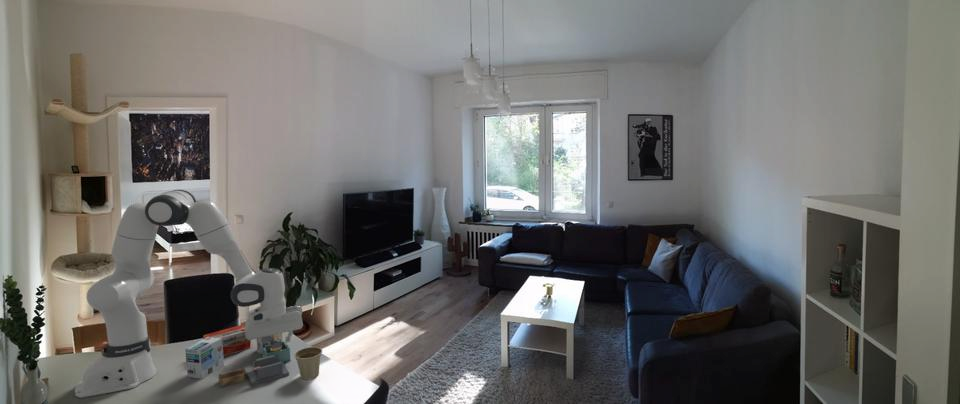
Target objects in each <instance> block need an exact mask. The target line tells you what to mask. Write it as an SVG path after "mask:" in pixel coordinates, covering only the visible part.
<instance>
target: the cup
mask: <svg viewBox="0 0 960 404" xmlns="http://www.w3.org/2000/svg"><path fill="white" fill-rule="evenodd" d="M282 341H283V342H281V345H282V350H278V351H274V352H270V345H266V346H265V348H263V353H262V357H266V356H270V355H278V362H282V363H284V364H285V363H288V362H291V349H290V346H289V345H288V344H287V343H286V341H285V340H282Z"/></svg>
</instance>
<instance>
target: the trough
mask: <svg viewBox="0 0 960 404" xmlns="http://www.w3.org/2000/svg"><path fill="white" fill-rule="evenodd" d="M247 376H248V375H247V371H246V369H245V367H243V368H240V369H236V370H231V371H228V372H224V373H219V374H218V381H219V385H220V388H224V387H227V386H231V385H234V384H239V383H242V382H245V381H247V380H248V377H247Z"/></svg>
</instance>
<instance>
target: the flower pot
mask: <svg viewBox="0 0 960 404" xmlns="http://www.w3.org/2000/svg"><path fill="white" fill-rule="evenodd" d="M322 353H323V349H322V348H321V347H318V346H310V347H305V348H301V349H299V350H297V351H296V352H295V353H294V354H293V356H294V358H295V360H296V363H297V365H298V371H299V376H300V378H301V379H305V380H310V379H314V378H316V377H317V376H319V374H320V364H321V358H322V357H321V356H322Z"/></svg>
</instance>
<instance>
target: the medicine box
mask: <svg viewBox="0 0 960 404" xmlns="http://www.w3.org/2000/svg"><path fill="white" fill-rule="evenodd" d="M207 337H211V338H222V345H223V357H225V356H229V355H231V354H236V353H239V352H241V351H244V350H248V349H251V346H252V345H251V341H252V340H247V339H246V337H245V325H243V324H240V325H236V326H231V327H229V328H225V329H221V330H218V331H215V332H211V333H207V334H203V339H205V338H207ZM203 339H202V340H203Z"/></svg>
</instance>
